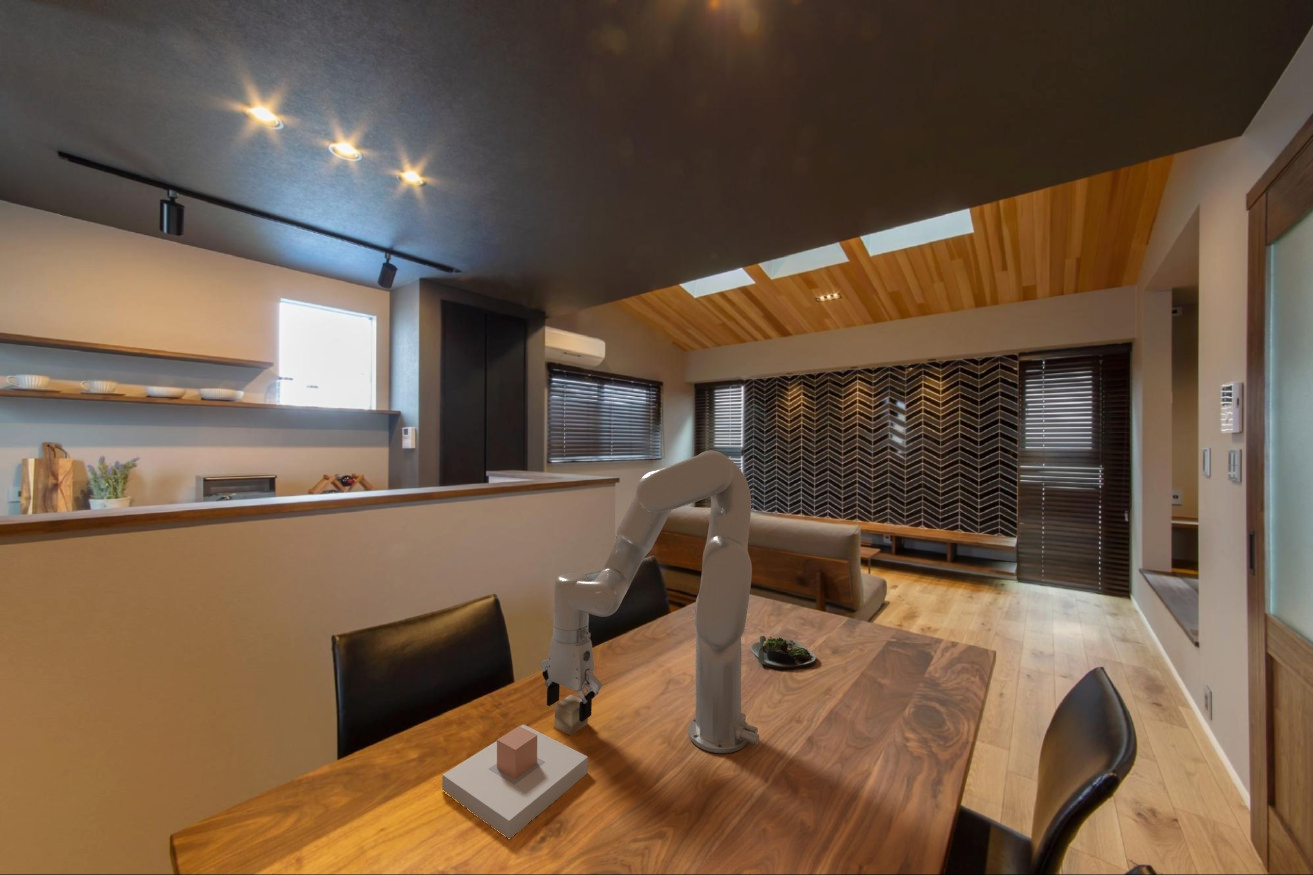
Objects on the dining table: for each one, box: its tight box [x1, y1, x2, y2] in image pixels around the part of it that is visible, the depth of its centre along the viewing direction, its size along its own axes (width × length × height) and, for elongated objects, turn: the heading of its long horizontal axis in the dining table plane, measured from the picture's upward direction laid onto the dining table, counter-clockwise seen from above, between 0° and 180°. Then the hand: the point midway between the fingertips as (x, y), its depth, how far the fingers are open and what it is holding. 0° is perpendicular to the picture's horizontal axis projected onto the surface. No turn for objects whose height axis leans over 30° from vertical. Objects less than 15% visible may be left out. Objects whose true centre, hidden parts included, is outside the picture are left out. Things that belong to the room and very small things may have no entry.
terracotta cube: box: [496, 725, 537, 779], centre depth 86 cm, size 5×5×5 cm
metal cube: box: [554, 694, 589, 736], centre depth 103 cm, size 5×5×5 cm
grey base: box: [441, 724, 589, 839], centre depth 86 cm, size 18×18×3 cm
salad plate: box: [750, 635, 817, 671], centre depth 138 cm, size 19×18×5 cm
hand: (568, 710), depth 103 cm, fingers open, 9 cm apart
